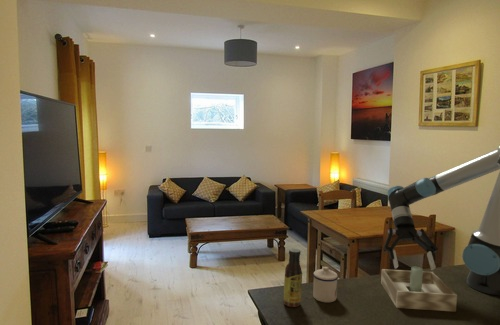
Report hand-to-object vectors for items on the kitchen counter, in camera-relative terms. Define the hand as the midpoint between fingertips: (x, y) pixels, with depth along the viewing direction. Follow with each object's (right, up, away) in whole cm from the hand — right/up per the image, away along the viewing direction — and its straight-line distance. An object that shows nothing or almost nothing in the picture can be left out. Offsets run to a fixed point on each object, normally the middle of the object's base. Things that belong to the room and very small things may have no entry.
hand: (414, 268), depth 131 cm
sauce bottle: (-48, -11, -7) cm, 50 cm away
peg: (0, -11, 0) cm, 11 cm away
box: (0, -11, 0) cm, 11 cm away
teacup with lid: (-35, -10, 0) cm, 37 cm away
